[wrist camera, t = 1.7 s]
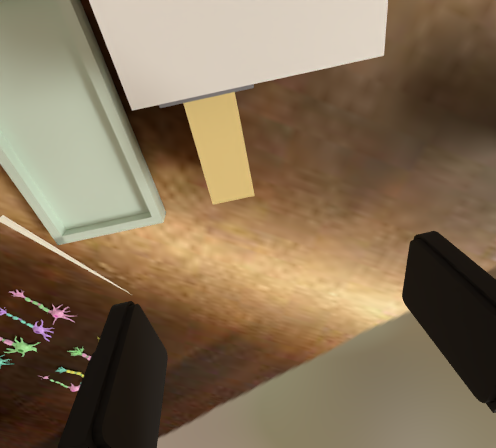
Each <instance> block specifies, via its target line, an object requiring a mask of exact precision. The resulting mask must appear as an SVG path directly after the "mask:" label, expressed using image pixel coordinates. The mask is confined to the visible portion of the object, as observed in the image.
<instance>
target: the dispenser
mask: <svg viewBox="0 0 496 448" xmlns="http://www.w3.org/2000/svg"><path fill="white" fill-rule="evenodd" d="M89 2H90V5H91V7H92V10H93V12H94V15H95V17H96V20H97V22H98V25H99V27H100V30H101V33H102V35H103V38H104V40H105V43H106V45H107V48H108V50H109V53H110V56H111V58H112V61H113V63H114V66H115V68H116V71H117V73H118V76H119V79H120V81H121V84H122V86H123V89H124V91H125V94H126V96H127V99H128V102H129V104H130V107H131V109H132V111H133V110H137V109H142V108H146V107H151V106H156V105H159V107H160V108H163V107H168V106H172V105H177V104H182V103H186V102H191V101H195V100H200V99H204V98H209V97H214V96H218V95H223V94H227V93H232V92H236V91H241V90H246V89H250V88H254V85H253V84H256V83H261V82H265V81H270V80H275V79H279V78H284V77H288V76H293V75H297V74H302V73H307V72H311V71H316V70H320V69H325V68H329V67H334V66H339V65H343V64H348V63H352V62H357V61H361V60H366V59H371V58H375V57H380V56H384V47H385V33H386V20H387V7H388V0H89Z"/></svg>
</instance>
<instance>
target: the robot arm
mask: <svg viewBox="0 0 496 448" xmlns="http://www.w3.org/2000/svg"><path fill="white" fill-rule="evenodd" d="M402 297H403V301H404V303H405V305H406V306H407V308H408V309H409V310H410V311H411V313H412V314H413V315H414V317H415V318H416V319H417V321H418V322H419V323H420V325H421V326H422V327H423V329H424V330H425V331H426V333H427V334H428V335H429V337H430V338H431V339H432V341H434V343H435V344H436V346H437V347H438V348H439V350H440V351H441V352H442V354H443V355H444V356H445V358H446V359H447V360H448V362H449V363H450V364H451V366H452V367H453V368H454V370H455V371H456V372H457V374H458V375H459V376H460V377H461V379H462V380H463V381H464V383H465V384H466V385H467V387H468V388H469V389H470V391H471V392H472V393H473V395H474V396H475V397H476V398H477V399H478V400H479V401H480V402H482V403H486V404H487V405H488V407H489V408H490V409H491V411H492V412H493V413H496V279H494V278H493V277H492V276H491V275H489V274H488V273H487V272H486V271H485V270H483V269H482V268H481V267H480V266H478V265H477V264H476V263H475V262H474V261H472V260H471V259H470V258H469V257H467V256H466V255H465V254H464V253H463V252H461V251H460V250H459V249H458V248H456V247H455V246H454V245H453V244H452V243H450V242H449V241H448V240H447V239H446V238H444V237H443V236H442V235H441V234H439V233H438V232H436V231H431V232H427V233H423V234H418V235H416V236H415V237H414V240H412V241H411V242H410V246H409V252H408V259H407V266H406V273H405V279H404V286H403V293H402ZM167 359H168V358H167V351H166V349H165V347H164V345H163V344H162V342H161V340H160V339H159V337H158V335H157V334H156V332H155V330H154V329H153V327H152V325H151V324H150V322H149V320H148V319H147V317H146V315H145V314H144V312H143V310H142V309H141V307H140V306H139V305H138V304H134V303H133V302H132V301H129V302H125V303H120V304H116V305H113V306H112V308H111V310H110V312H109V315H108V318H107V321H106V323H105V326H104V329H103V332H102V335H101V337H100V340H99V343H98V346H97V348H96V351H95V352H94V353H93V354H92V356H91V358H90V361H89V363H88V366H87V369H86V372H85V374H84V377H83V380H82V382H81V385H80V388H79V391H78V393H77V396H76V399H75V401H74V404H73V407H72V410H71V412H70V415H69V418H68V420H67V423H66V426H65V429H64V431H63V434H62V437H61V439H60V442H59V445H58V448H157V441H158V433H159V425H160V416H161V408H162V400H163V392H164V384H165V376H166V368H167Z"/></svg>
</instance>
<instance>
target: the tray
mask: <svg viewBox="0 0 496 448" xmlns="http://www.w3.org/2000/svg"><path fill="white" fill-rule="evenodd" d="M0 164H1V165H2V167H3V168H4V170H5V171H6V172H7V174H8V175H9V177H10V178H11V180H12V181H13V182H14V184H15V185H16V187H17V188H18V189H19V191H20V192H21V194H22V195H23V196H24V198H25V199H26V201H27V202H28V203H29V205H30V206H31V208H32V209H33V210H34V212H35V213H36V215H37V216H38V218H39V219H40V220H41V222H42V223H43V225H44V226H45V227H46V229H47V230H48V232H49V233H50V234H51V236H52V237H53V239H54V240H55V241H56V243H57V244H58V245H61V244H65V243H70V242H75V241H79V240H84V239H89V238H93V237H98V236H103V235H107V234H112V233H117V232H121V231H126V230H131V229H135V228H140V227H145V226H149V225H154V224H159V223H163V222H164V219H165V215H166V211H165V208H164V206H163V204H162V201H161V199H160V196H159V194H158V191H157V189H156V186H155V184H154V181H153V179H152V176H151V174H150V171H149V169H148V167H147V164H146V162H145V159H144V157H143V154H142V152H141V149H140V147H139V144H138V142H137V139H136V137H135V134H134V132H133V130H132V127H131V125H130V122H129V120H128V117H127V115H126V112H125V110H124V107H123V105H122V102H121V100H120V97H119V95H118V93H117V90H116V88H115V85H114V83H113V80H112V78H111V75H110V73H109V70H108V68H107V65H106V63H105V60H104V58H103V55H102V53H101V51H100V48H99V46H98V43H97V41H96V38H95V36H94V33H93V31H92V28H91V26H90V23H89V21H88V18H87V16H86V14H85V11H84V9H83V6H82V4H81V1H80V0H0Z"/></svg>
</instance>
